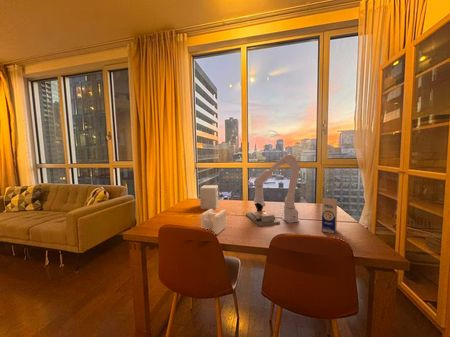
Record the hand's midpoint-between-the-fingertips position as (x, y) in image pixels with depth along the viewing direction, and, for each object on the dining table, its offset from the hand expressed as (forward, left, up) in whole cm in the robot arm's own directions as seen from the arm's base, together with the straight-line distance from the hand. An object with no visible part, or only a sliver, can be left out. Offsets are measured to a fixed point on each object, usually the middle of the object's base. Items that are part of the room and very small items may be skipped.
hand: (259, 213), depth 149 cm
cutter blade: (-7, 0, -1) cm, 7 cm away
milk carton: (-35, -28, -3) cm, 45 cm away
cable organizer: (-13, +35, -3) cm, 37 cm away
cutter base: (-4, 0, -3) cm, 5 cm away
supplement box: (+39, +28, -3) cm, 48 cm away
